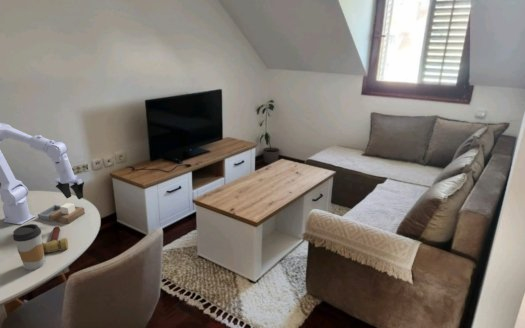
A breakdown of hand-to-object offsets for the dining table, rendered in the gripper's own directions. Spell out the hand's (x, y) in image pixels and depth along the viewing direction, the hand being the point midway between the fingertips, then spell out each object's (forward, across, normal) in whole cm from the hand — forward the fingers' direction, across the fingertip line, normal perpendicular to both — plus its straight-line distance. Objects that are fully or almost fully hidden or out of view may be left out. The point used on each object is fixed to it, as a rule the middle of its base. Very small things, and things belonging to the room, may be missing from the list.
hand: (74, 197), depth 153 cm
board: (+10, +8, +1) cm, 13 cm away
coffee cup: (+11, -11, +31) cm, 35 cm away
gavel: (+11, -3, +16) cm, 20 cm away
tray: (+9, +17, +2) cm, 19 cm away
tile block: (+7, +7, 0) cm, 10 cm away
